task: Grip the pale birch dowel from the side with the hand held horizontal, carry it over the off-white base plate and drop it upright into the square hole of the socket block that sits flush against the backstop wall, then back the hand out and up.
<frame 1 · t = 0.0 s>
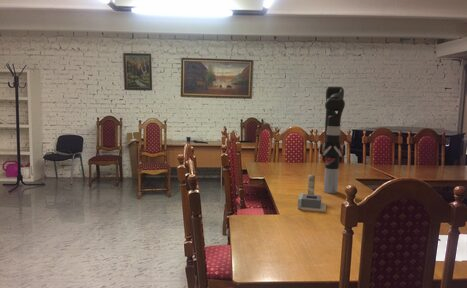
hand: (331, 162, 209), 29 cm above the table, tool pointing down, fingers open, 8 cm apart
dowel: (310, 199, 236), on the table
dowel dock: (312, 206, 220), on the table
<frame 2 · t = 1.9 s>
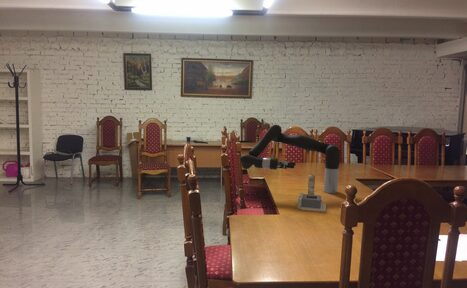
hand: (294, 165, 236), 22 cm above the table, tool horizontal, fingers open, 8 cm apart
nothing on the table moved.
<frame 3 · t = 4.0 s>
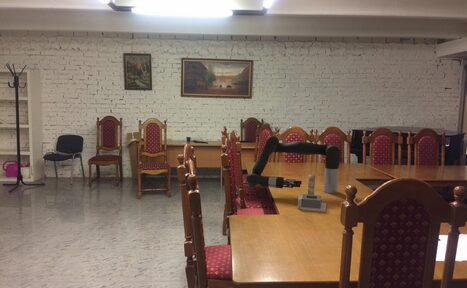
hand: (300, 184, 236), 10 cm above the table, tool horizontal, fingers open, 8 cm apart
nothing on the table moved.
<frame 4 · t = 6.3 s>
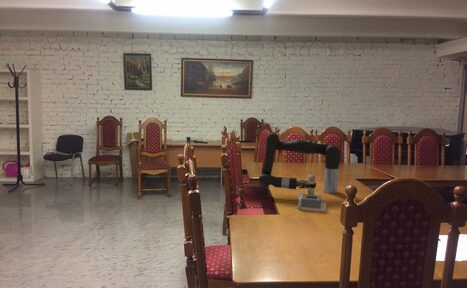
hand: (315, 185, 234), 10 cm above the table, tool horizontal, fingers closed on dowel, 4 cm apart
dowel: (310, 199, 236), on the table, touching gripper
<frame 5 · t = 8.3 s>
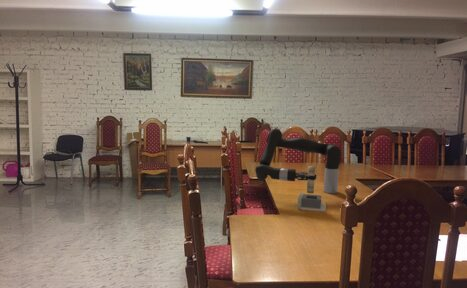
hand: (315, 177, 219), 18 cm above the table, tool horizontal, fingers closed on dowel, 4 cm apart
dowel: (310, 192, 221), point 8 cm above the table, touching gripper
when the fingers open (12 cm above the table, at t = 10.2 s): dowel drops 1 cm, resting on dowel dock.
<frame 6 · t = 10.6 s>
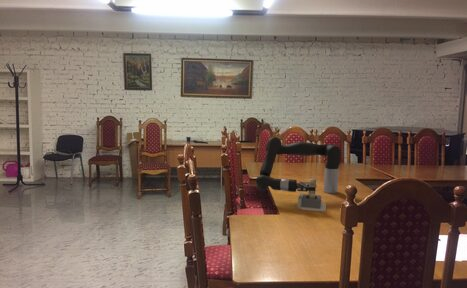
hand: (315, 187, 218), 12 cm above the table, tool horizontal, fingers open, 7 cm apart
dowel: (311, 205, 220), point 1 cm above the table, touching dowel dock
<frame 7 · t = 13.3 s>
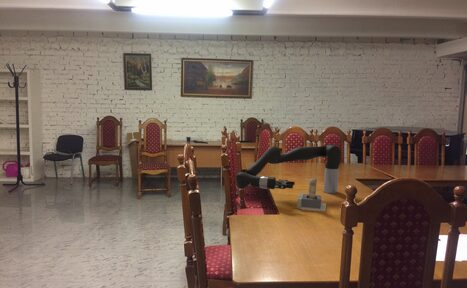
hand: (293, 185, 221), 13 cm above the table, tool horizontal, fingers open, 8 cm apart
nothing on the table moved.
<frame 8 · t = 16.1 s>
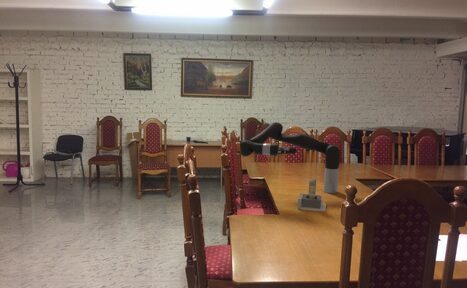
hand: (295, 151, 228), 32 cm above the table, tool horizontal, fingers open, 8 cm apart
nothing on the table moved.
at the end: dowel 0.1 cm off-centre on the dowel dock, point 1.1 cm above the dowel dock's base; dowel tilted 2°; the gripper is holding nothing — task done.
